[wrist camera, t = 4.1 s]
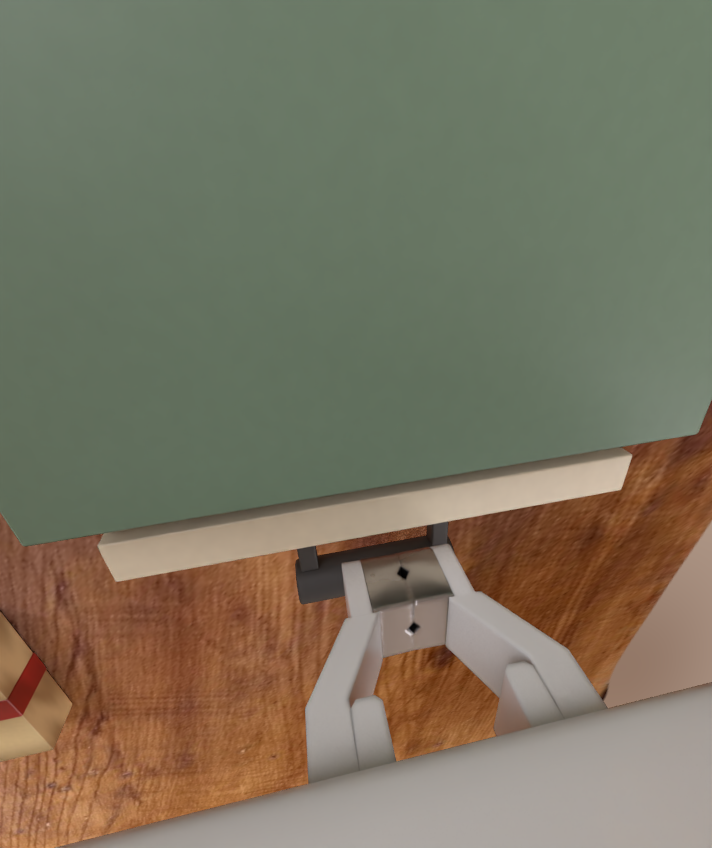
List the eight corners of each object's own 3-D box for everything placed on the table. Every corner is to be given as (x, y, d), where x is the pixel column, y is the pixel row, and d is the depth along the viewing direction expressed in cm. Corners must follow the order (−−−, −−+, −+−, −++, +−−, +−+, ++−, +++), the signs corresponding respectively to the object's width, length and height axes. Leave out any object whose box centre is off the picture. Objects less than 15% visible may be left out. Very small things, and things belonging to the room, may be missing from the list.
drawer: (480, 471, 20) (585, 601, 13) (212, 516, 18) (173, 692, 11) (545, -155, 10) (1071, -887, 3) (-11, -180, 9) (-1095, -1679, 2)
